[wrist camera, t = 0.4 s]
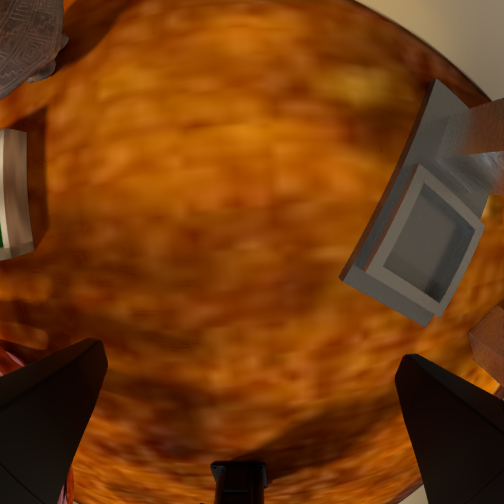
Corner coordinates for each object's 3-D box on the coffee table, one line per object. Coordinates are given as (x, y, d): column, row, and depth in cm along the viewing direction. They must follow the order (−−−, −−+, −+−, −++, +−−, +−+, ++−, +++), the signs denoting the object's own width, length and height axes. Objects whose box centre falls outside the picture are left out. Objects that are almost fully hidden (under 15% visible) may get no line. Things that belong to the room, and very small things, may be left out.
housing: (419, 322, 22) (529, 425, 7) (338, 277, 21) (462, 413, 6) (494, 146, 19) (613, 140, 3) (429, 81, 18) (553, 20, 2)
